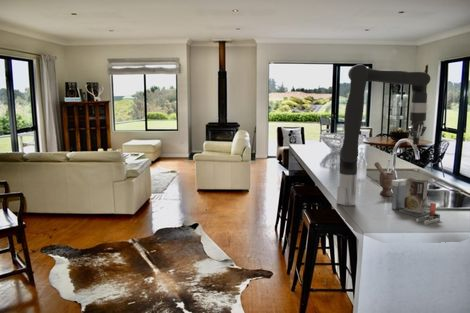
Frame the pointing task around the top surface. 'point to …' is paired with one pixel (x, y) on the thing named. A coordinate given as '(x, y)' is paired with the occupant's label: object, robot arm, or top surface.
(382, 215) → the top surface
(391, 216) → the top surface
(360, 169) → the top surface
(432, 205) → the lever
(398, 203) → the press
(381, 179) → the mortar and pestle
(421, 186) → the coffee box
